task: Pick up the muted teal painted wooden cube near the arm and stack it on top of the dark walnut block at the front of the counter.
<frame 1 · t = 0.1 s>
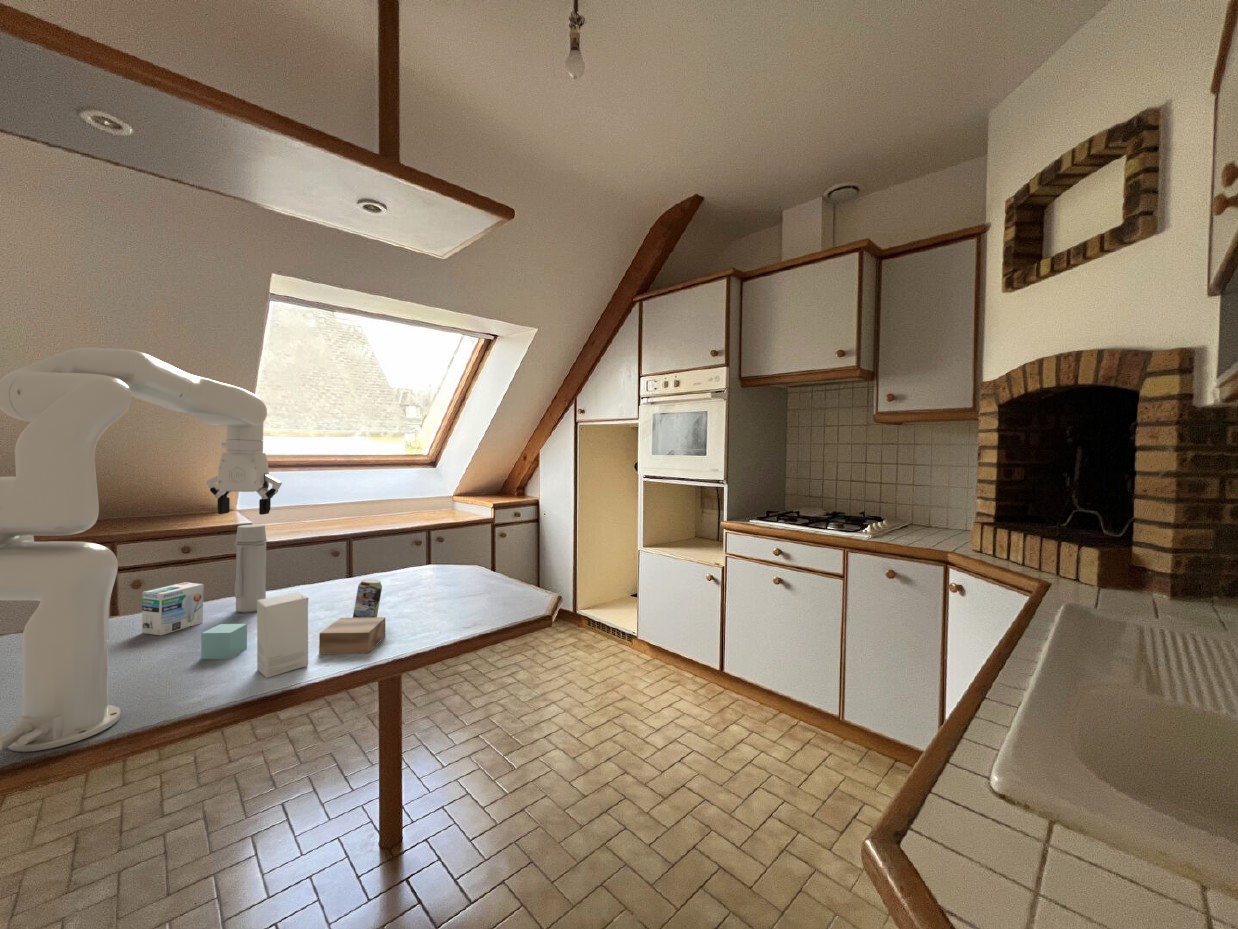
hand: (244, 513, 126), 31 cm above the counter, tool pointing down, fingers open, 9 cm apart
light bulb box: (173, 628, 130), on the counter
water bottle: (248, 611, 145), on the counter
skincare box: (282, 669, 107), on the counter
teal cube: (224, 654, 114), on the counter
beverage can: (367, 623, 137), on the counter
walnut block: (353, 645, 121), on the counter
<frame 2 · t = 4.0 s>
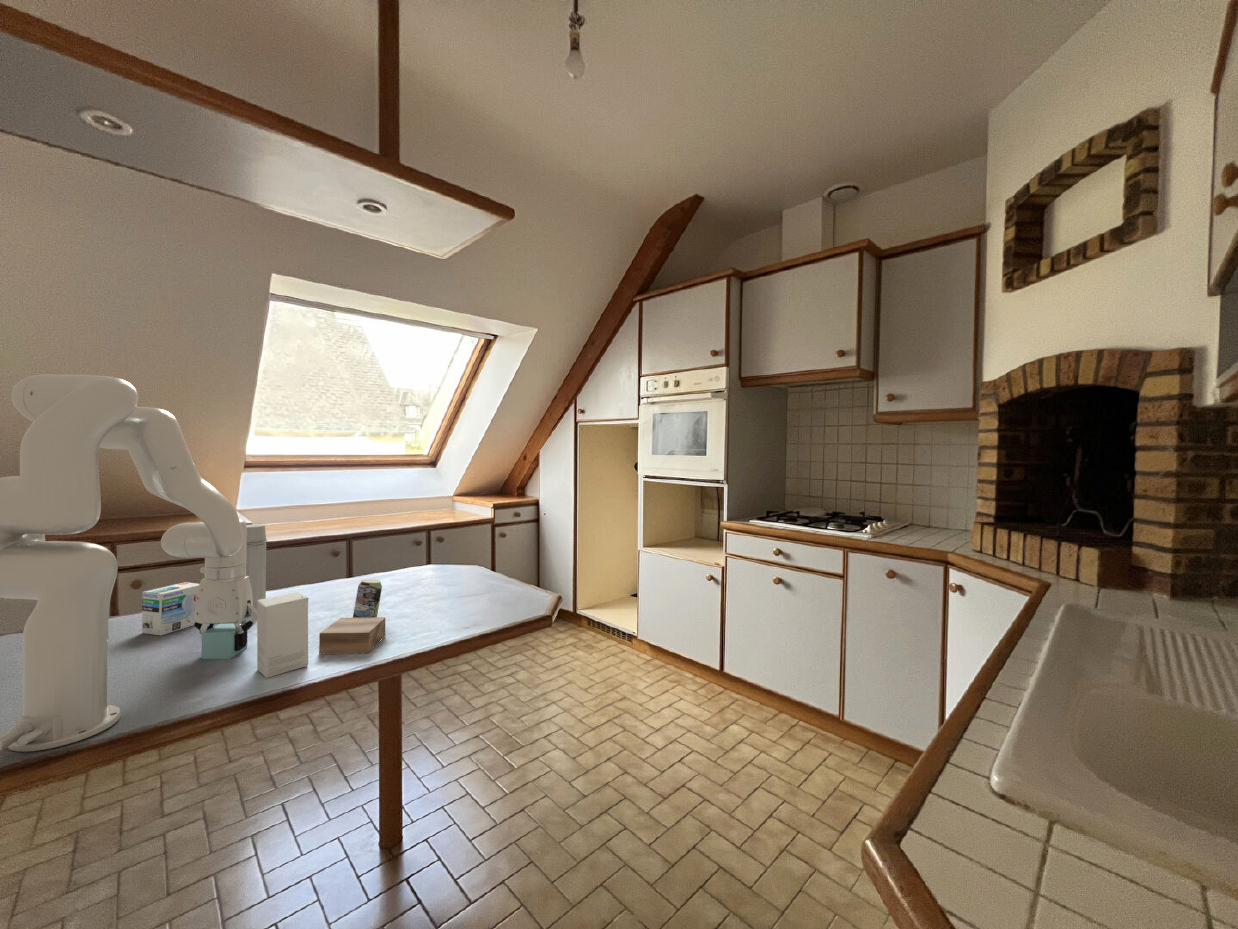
hand: (224, 648, 114), 1 cm above the counter, tool pointing down, fingers closed on teal cube, 6 cm apart
teal cube: (224, 653, 114), on the counter, touching gripper
everything else where it was.
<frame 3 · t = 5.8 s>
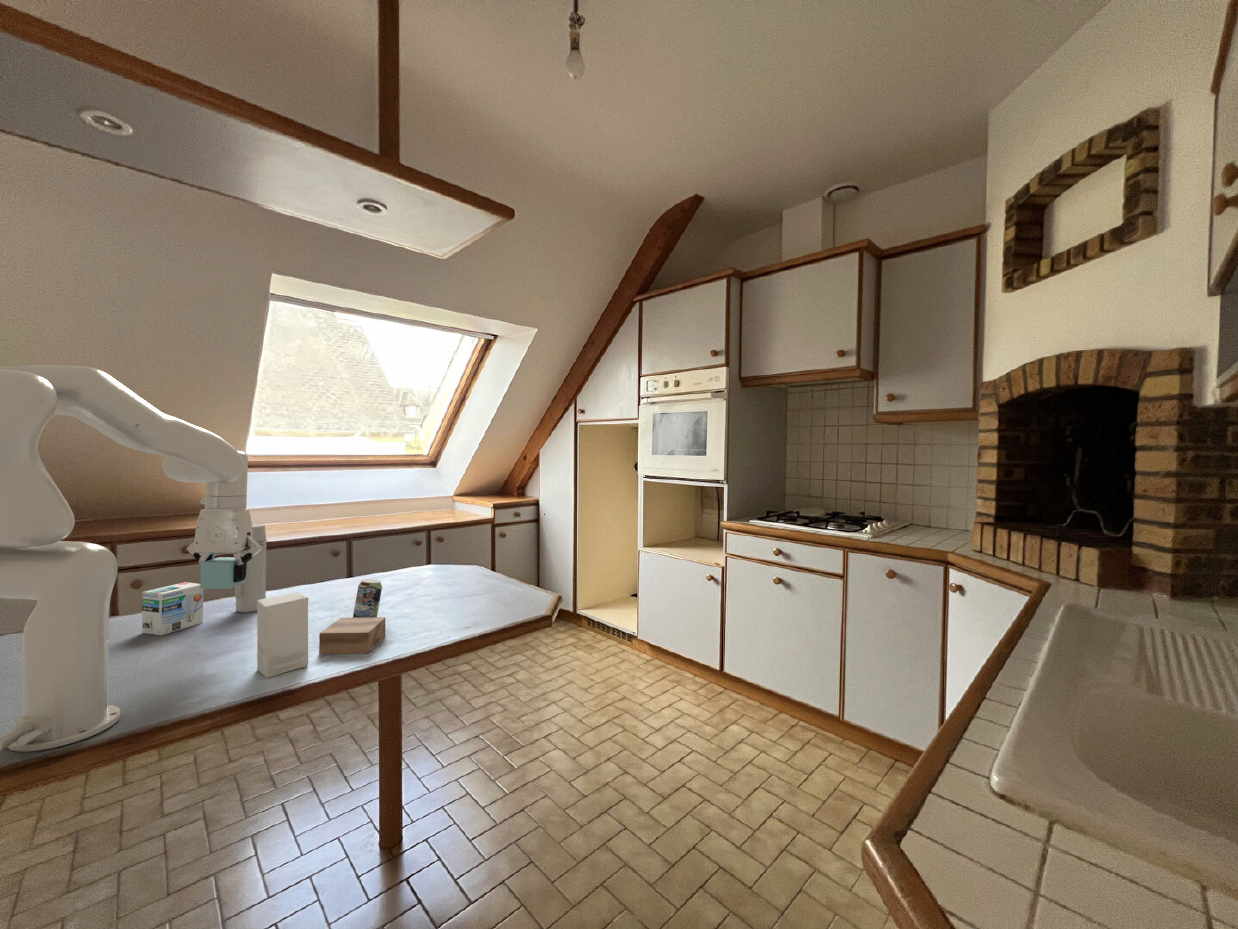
hand: (223, 580, 114), 17 cm above the counter, tool pointing down, fingers closed on teal cube, 6 cm apart
teal cube: (223, 585, 114), point 16 cm above the counter, touching gripper
everything else where it was.
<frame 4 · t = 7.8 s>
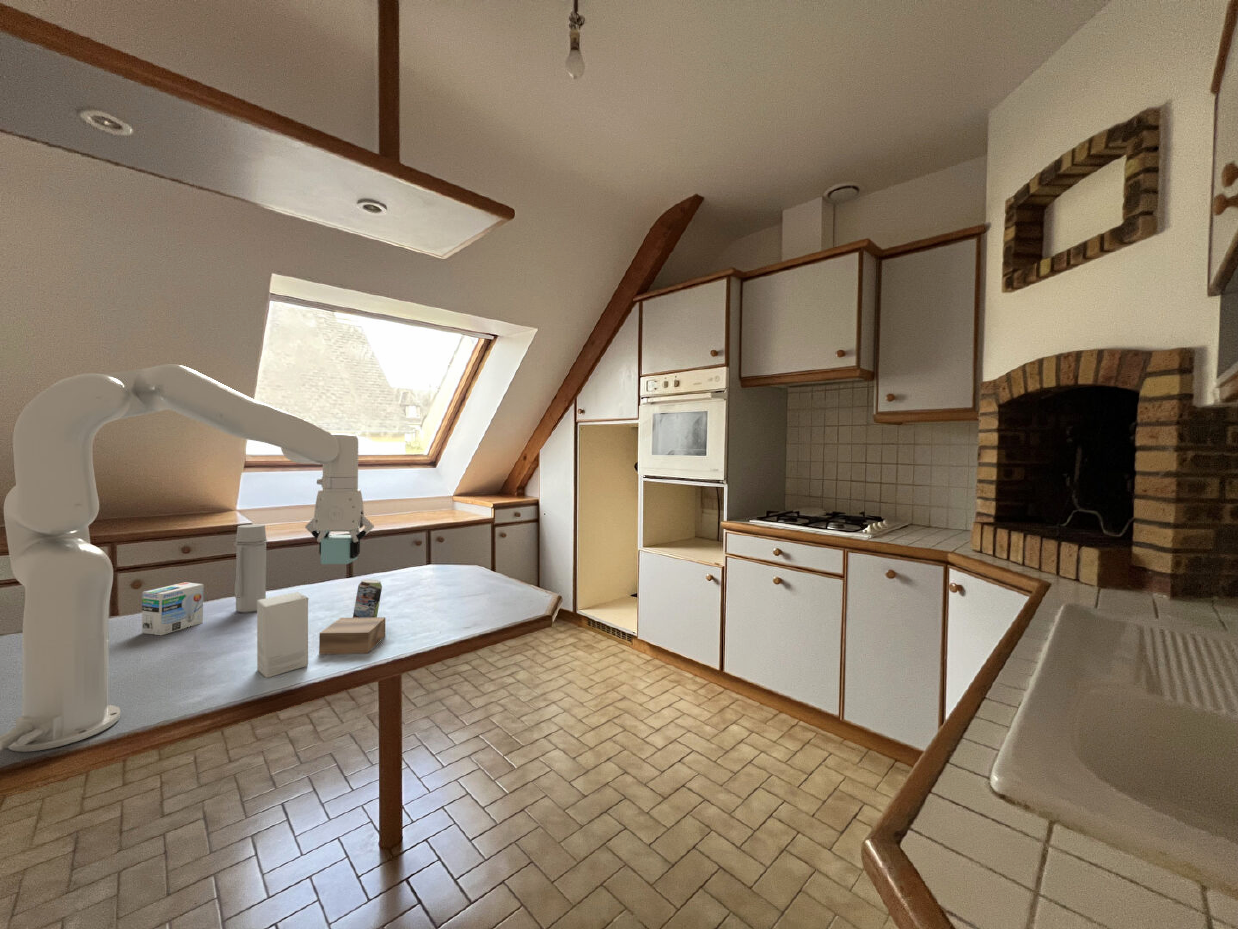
hand: (339, 556, 120), 22 cm above the counter, tool pointing down, fingers closed on teal cube, 6 cm apart
teal cube: (339, 561, 120), point 21 cm above the counter, touching gripper
everything else where it was.
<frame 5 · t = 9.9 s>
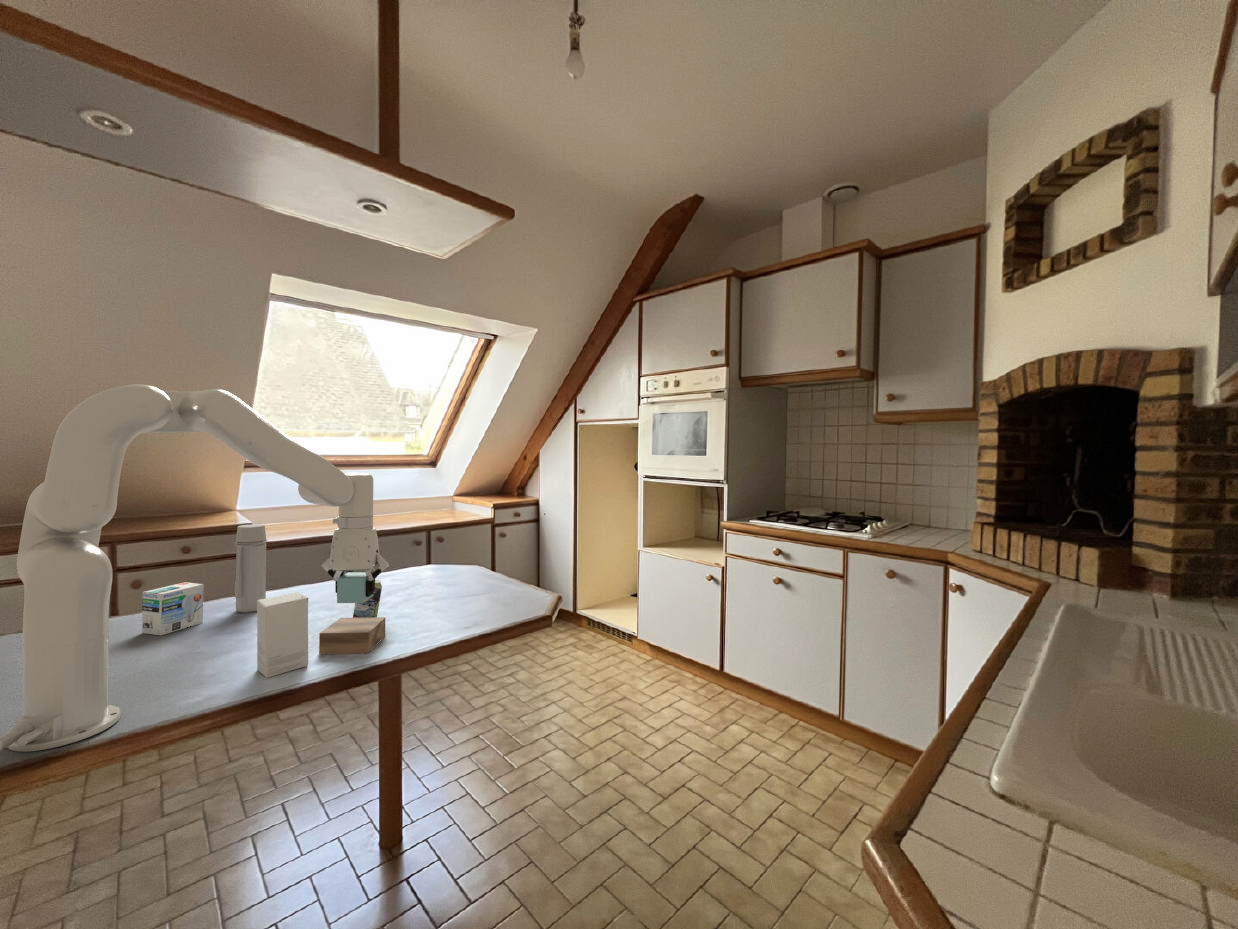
hand: (355, 595, 121), 12 cm above the counter, tool pointing down, fingers closed on teal cube, 6 cm apart
teal cube: (355, 599, 121), point 11 cm above the counter, touching gripper
everything else where it was.
when the fingers open (7 cm above the counter, at t = 11.7 s): teal cube drops 1 cm, resting on walnut block.
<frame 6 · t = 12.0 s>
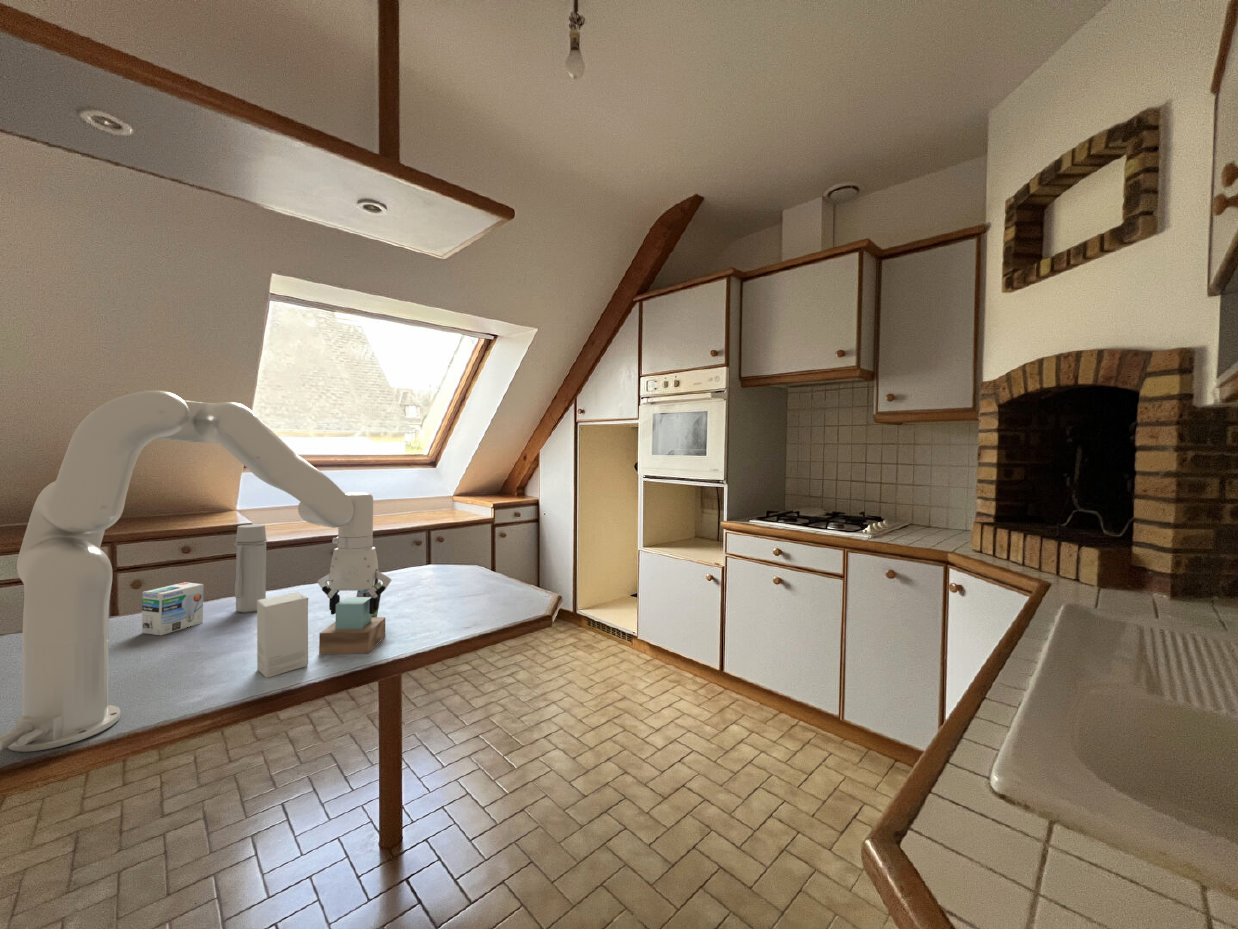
hand: (354, 612, 121), 8 cm above the counter, tool pointing down, fingers open, 8 cm apart
teal cube: (353, 624, 121), point 5 cm above the counter, touching walnut block
everything else where it was.
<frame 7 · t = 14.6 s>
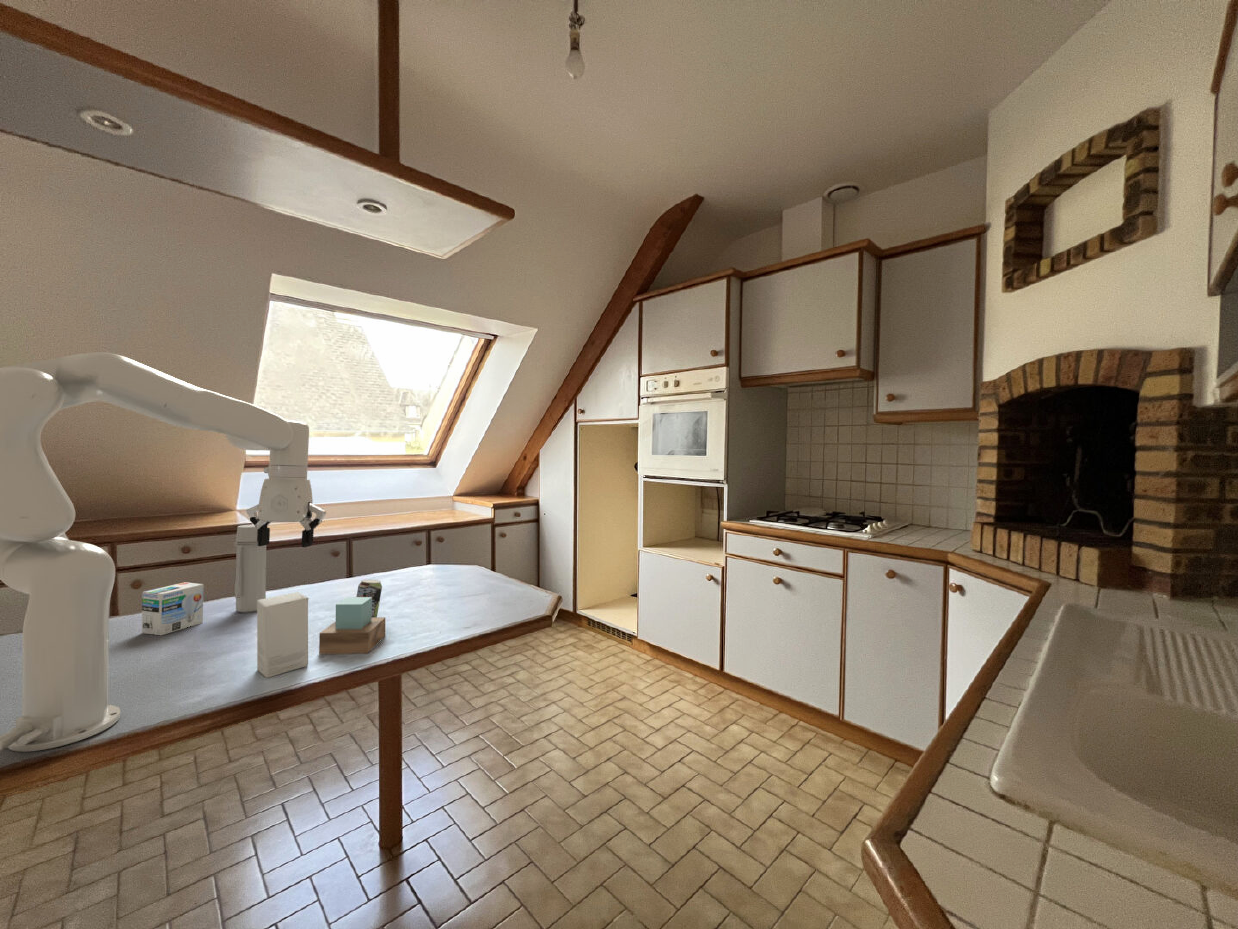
hand: (285, 545, 115), 25 cm above the counter, tool pointing down, fingers open, 9 cm apart
nothing on the counter moved.
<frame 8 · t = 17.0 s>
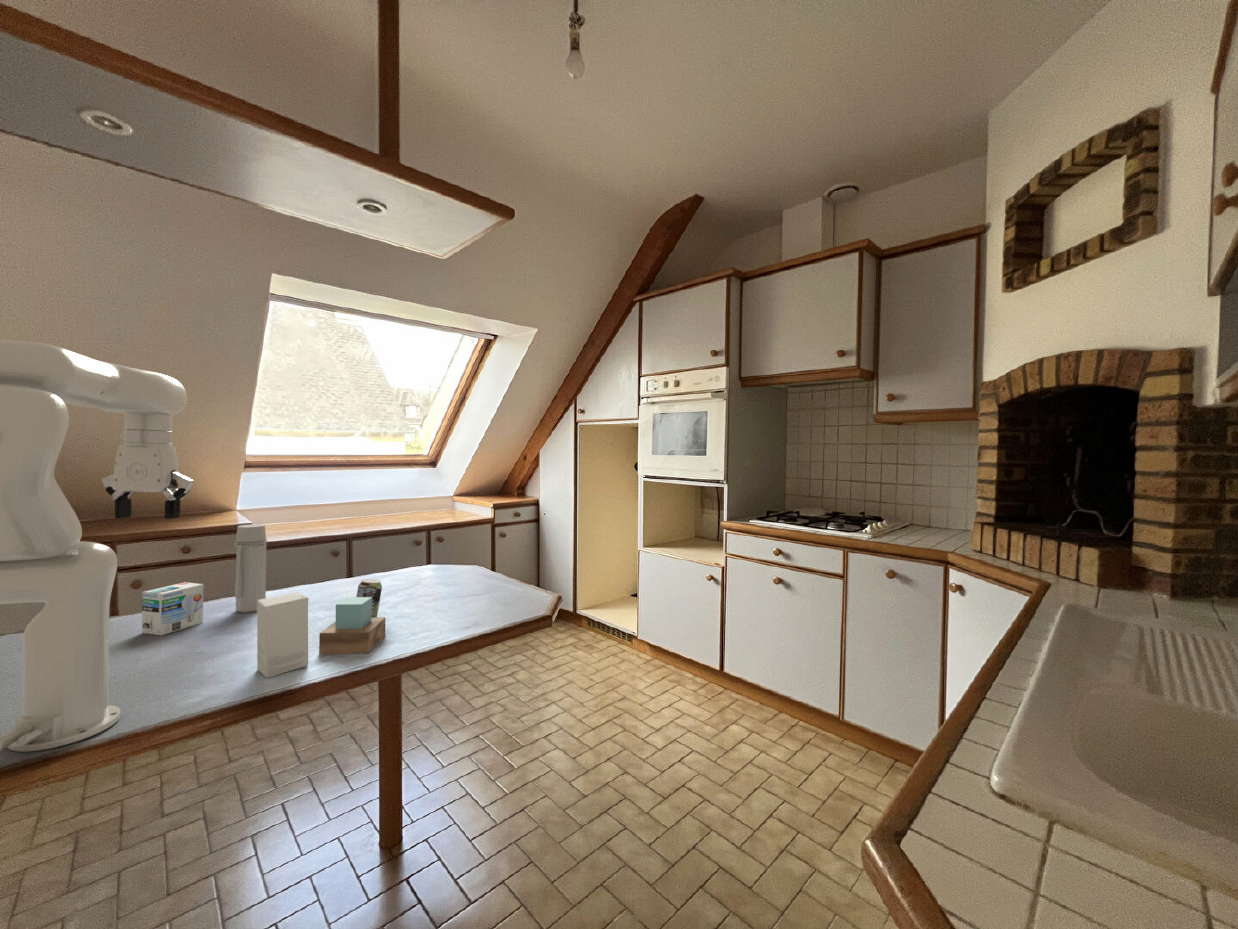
hand: (147, 517, 107), 32 cm above the counter, tool pointing down, fingers open, 9 cm apart
nothing on the counter moved.
at the end: teal cube inside the target area on the walnut block (0.1 cm from its centre), point 5.0 cm above the walnut block's base; teal cube tilted 0°; the gripper is holding nothing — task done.
